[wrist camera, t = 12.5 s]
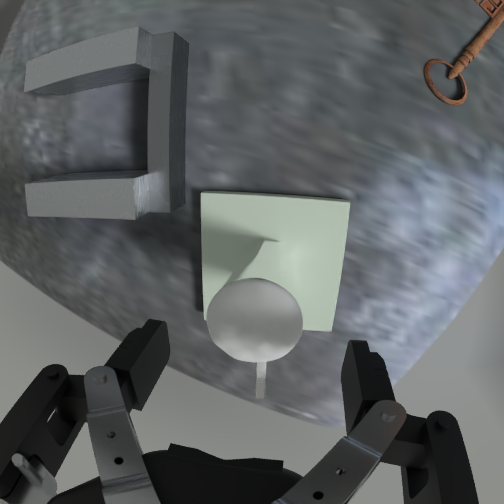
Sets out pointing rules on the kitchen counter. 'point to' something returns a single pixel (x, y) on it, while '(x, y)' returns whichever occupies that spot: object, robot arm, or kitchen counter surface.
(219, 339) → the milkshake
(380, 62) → the kitchen counter surface
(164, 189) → the grey u-shaped bracket
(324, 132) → the kitchen counter surface
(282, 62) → the kitchen counter surface
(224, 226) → the mat
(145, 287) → the kitchen counter surface
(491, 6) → the key
